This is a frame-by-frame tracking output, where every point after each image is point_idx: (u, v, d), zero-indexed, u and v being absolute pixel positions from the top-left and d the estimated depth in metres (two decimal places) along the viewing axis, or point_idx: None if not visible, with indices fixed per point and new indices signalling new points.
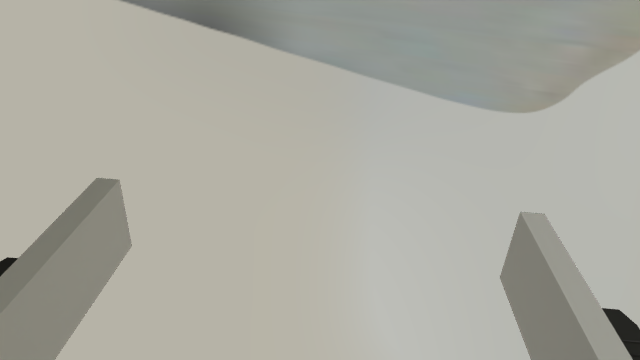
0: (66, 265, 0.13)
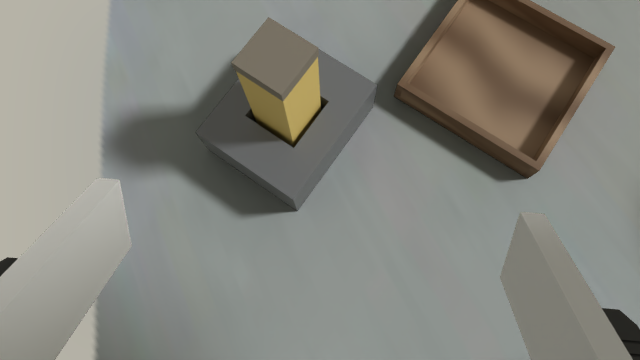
0: (66, 265, 0.13)
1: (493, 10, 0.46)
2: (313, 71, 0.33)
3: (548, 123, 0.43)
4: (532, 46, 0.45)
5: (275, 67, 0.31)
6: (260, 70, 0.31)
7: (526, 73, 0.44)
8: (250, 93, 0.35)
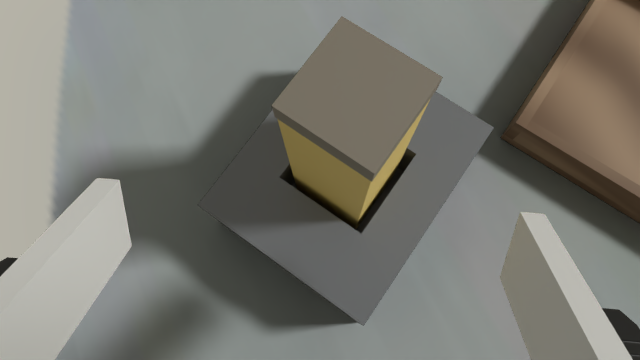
0: (66, 265, 0.13)
1: None
2: (418, 117, 0.18)
3: None
4: None
5: (358, 116, 0.16)
6: (329, 121, 0.16)
7: None
8: (297, 152, 0.19)
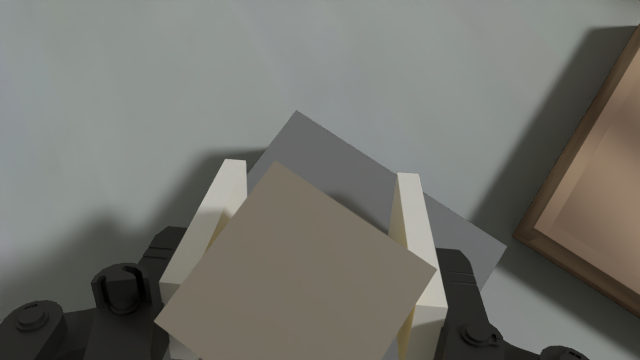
0: None
1: None
2: None
3: None
4: None
5: (298, 339, 0.09)
6: (249, 349, 0.09)
7: None
8: None
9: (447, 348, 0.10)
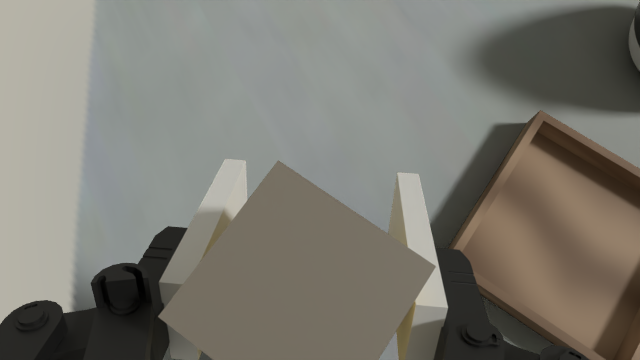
0: None
1: (557, 153, 0.37)
2: None
3: (631, 307, 0.34)
4: (607, 202, 0.36)
5: (300, 335, 0.10)
6: (252, 344, 0.10)
7: (601, 238, 0.36)
8: None
9: (447, 348, 0.10)
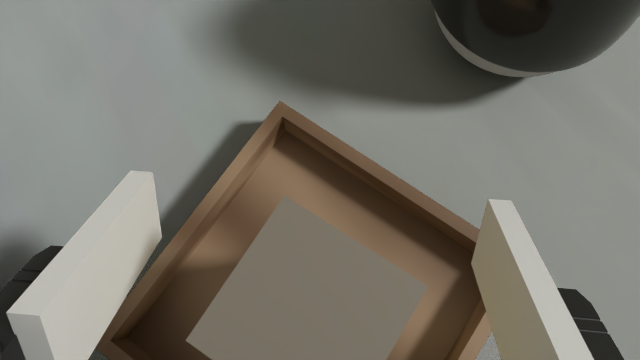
0: (108, 253, 0.13)
1: (317, 166, 0.25)
2: None
3: None
4: (382, 241, 0.24)
5: (310, 351, 0.11)
6: None
7: None
8: None
9: None
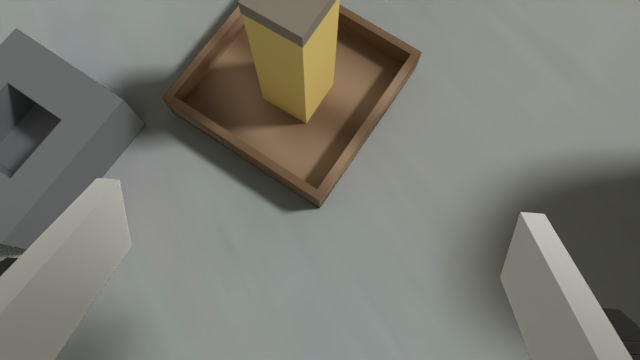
0: (66, 265, 0.13)
1: None
2: (334, 14, 0.28)
3: (346, 142, 0.36)
4: (336, 52, 0.38)
5: (291, 6, 0.26)
6: (274, 10, 0.26)
7: None
8: (258, 46, 0.29)
9: None
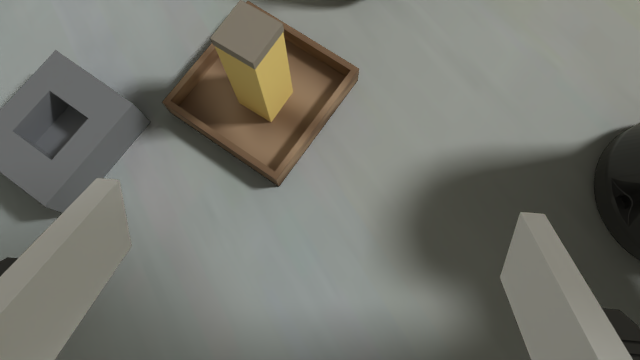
0: (66, 265, 0.13)
1: None
2: (280, 45, 0.39)
3: (301, 137, 0.48)
4: (296, 67, 0.50)
5: (247, 41, 0.37)
6: (234, 43, 0.37)
7: None
8: (228, 66, 0.41)
9: None
